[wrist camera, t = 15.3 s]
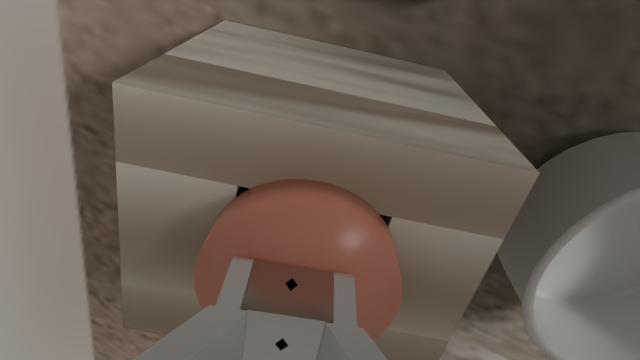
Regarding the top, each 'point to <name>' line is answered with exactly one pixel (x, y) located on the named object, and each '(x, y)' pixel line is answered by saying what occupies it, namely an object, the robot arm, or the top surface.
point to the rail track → (309, 167)
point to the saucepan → (581, 252)
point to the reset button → (307, 243)
